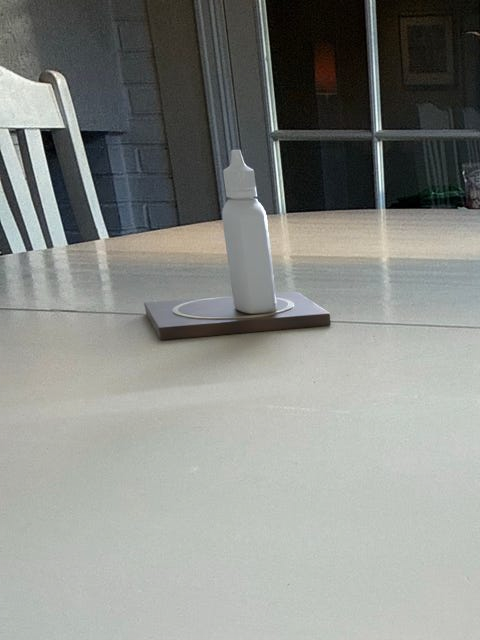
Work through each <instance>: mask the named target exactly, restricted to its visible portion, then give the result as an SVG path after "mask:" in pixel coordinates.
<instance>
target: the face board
mask: <svg viewBox="0 0 480 640" xmlns="http://www.w3.org/2000/svg"><path fill="white" fill-rule="evenodd" d="M276 300H277V308H276V310H275V311H274V312H269V313H258V314H248V313H244V312H241V311H239V310H237V309H236V308H235V306H234V300H233V295H229V296H227V295H226V296H218V297H217V296H216V297H215V296H214V297H202V298H188V299H176V300H175V299H173V300H162V301H147V302H144V303H143V305H144V311H145V314H146V316H147V318H148V319H149V321H150V323H151V325H152V327H153V328H154V330H155V332H156V334H157V336H158V338H159V339H160V341H168V340H169V341H170V340H178V339H190V338H201V337H202V338H203V337H212V336H226V335H236V334H249V333H258V332H259V333H260V332H271V331H281V330H291V329H292V330H293V329H304V328H314V327H315V328H317V327H327V326H331V324H332V323H331V314H330V312H329V311H327V310H325V309H324V308H322V307H321V306H320V305H318V304H316V303H315V302H314V301H312V300H311V299H309V298H307V297H306V296H305V295H303V294H301V293H300V292H298V291H296V290H295V291H283V292H276Z"/></svg>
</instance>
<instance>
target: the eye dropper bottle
mask: <svg viewBox="0 0 480 640" xmlns="http://www.w3.org/2000/svg"><path fill="white" fill-rule="evenodd" d="M230 152H231V153H230V164H229V165H228V167H226V168H224V169H223V170H222V174H223V182H224V189H225V196H226V198H228V199H227V200H226V202H225V203H224V205H223V207H222V211H221V218H222V226H223V234H224V241H225V249H226V256H227V257H226V258H227V263H228V270H229V277H230V284H231V286H230V287H231V292H232V296H233V300H234V306H235V308H236V309H237V310H239V311H241V312H244V313H248V314H258V313H269V312H274V311H275V310H276V308H277V300H276V293H277V292H276V284H275V275H274V274H275V273H274V267H273V257H272V250H271V249H272V248H271V240H270V233H269V225H268V224H269V223H268V218H267V213H266V210H265V208H264V206H263V205H262V204H261V202H259V200H258V199H257V198H255V197H258V193H257V185H256V184H257V183H256V177H255V170H254V169H253V168H252V167H250V166H247V164H246V163H245V161H244V158H243V155H242V151H241V149H231V151H230Z"/></svg>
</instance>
